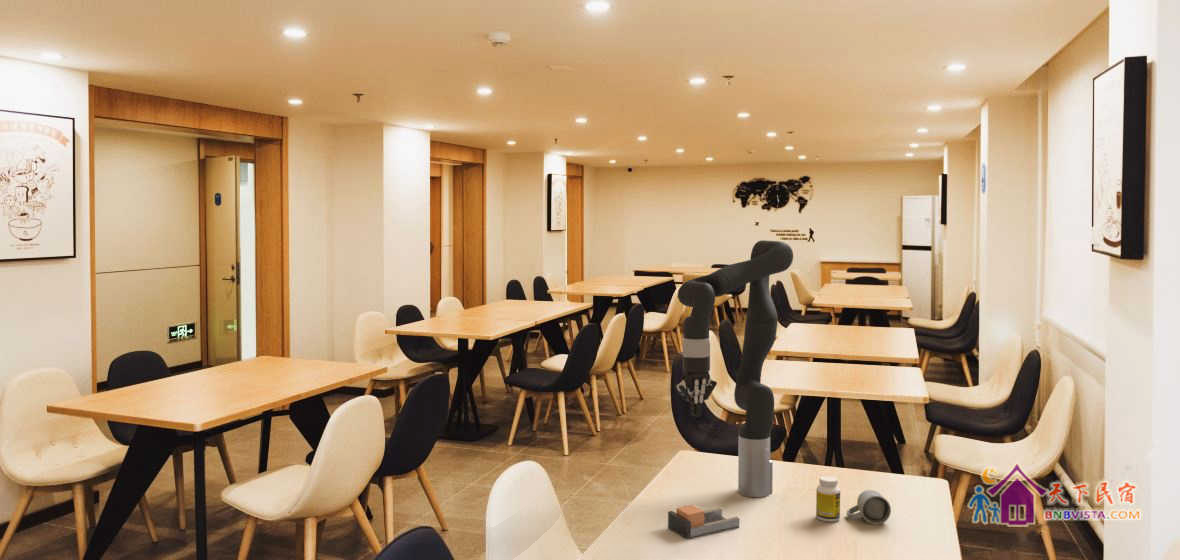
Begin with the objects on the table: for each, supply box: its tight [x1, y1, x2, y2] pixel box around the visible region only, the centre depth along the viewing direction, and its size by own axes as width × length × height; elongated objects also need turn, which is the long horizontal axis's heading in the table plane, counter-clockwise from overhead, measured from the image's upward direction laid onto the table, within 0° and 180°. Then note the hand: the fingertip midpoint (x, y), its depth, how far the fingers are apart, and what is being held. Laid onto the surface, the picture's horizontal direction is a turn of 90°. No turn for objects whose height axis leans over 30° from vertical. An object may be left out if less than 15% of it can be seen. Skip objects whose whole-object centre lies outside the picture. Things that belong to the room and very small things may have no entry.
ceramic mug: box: [846, 489, 892, 525], centre depth 214 cm, size 11×8×8 cm
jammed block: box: [675, 504, 705, 527], centre depth 207 cm, size 5×6×5 cm
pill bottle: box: [815, 475, 841, 523], centre depth 215 cm, size 6×6×11 cm
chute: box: [667, 507, 740, 540], centre depth 209 cm, size 17×9×4 cm, turn 118°
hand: (696, 415), depth 219 cm, fingers closed
